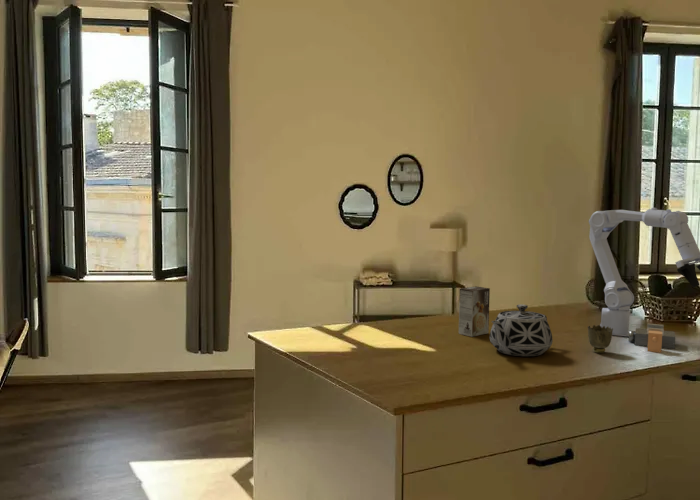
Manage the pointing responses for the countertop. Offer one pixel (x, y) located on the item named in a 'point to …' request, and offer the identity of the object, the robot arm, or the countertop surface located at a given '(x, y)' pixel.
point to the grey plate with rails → (642, 336)
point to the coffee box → (474, 311)
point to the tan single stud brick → (654, 341)
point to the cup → (599, 337)
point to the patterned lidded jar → (521, 332)
